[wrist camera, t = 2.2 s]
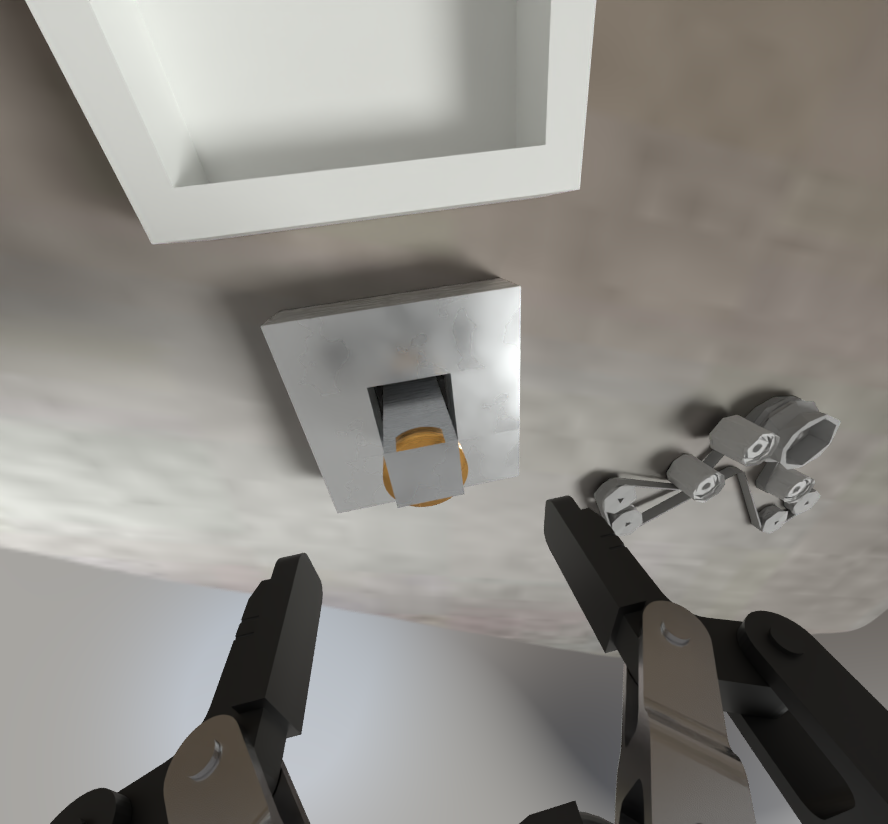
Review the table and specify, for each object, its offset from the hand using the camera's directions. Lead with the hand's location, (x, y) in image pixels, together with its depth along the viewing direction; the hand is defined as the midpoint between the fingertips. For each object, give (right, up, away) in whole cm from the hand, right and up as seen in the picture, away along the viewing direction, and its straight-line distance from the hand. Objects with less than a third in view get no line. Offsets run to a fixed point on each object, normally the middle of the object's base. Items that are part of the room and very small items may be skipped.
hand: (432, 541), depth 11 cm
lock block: (-2, +6, +10) cm, 11 cm away
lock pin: (-2, +6, +10) cm, 11 cm away
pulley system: (+27, 0, +19) cm, 33 cm away
